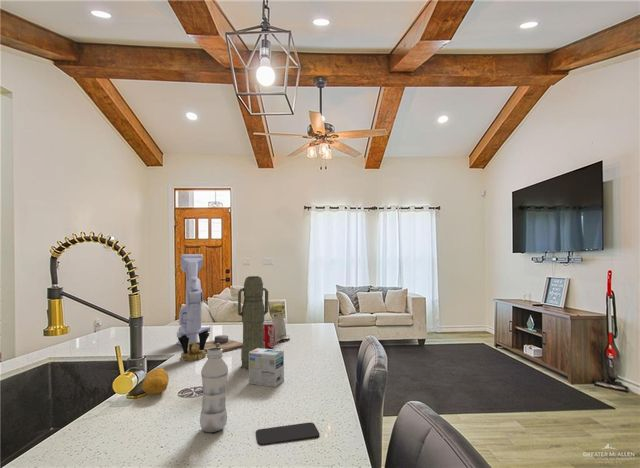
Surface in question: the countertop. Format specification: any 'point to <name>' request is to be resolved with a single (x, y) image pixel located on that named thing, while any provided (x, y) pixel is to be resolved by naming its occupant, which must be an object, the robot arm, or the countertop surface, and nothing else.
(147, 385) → the potato
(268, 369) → the light bulb box
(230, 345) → the carrier plate
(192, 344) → the brass gear
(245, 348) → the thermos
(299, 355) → the countertop surface
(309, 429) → the phone
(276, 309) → the white paper bag
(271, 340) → the soda can
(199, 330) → the robot arm
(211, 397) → the plastic bottle
